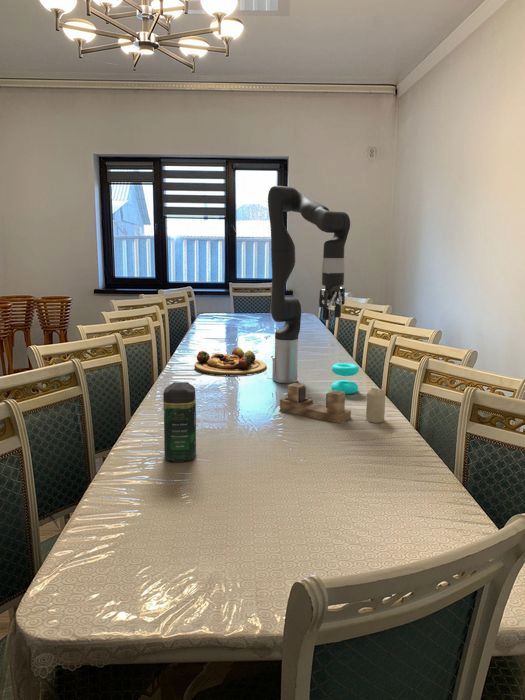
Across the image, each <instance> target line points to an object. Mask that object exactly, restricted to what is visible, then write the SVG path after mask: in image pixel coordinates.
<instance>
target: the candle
mask: <svg viewBox="0 0 525 700" xmlns="http://www.w3.org/2000/svg"><path fill="white" fill-rule="evenodd" d="M385 410H386V393H385V391H384V390H383V389H382V388H374V387H371V388H370V390H368V391H367V393H366V411H365V420H366V421H368V422H369V423H375V424H379V422H380V423H383V422H384V421H385V413H386V411H385Z"/></svg>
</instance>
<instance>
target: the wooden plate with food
mask: <svg viewBox="0 0 525 700" xmlns="http://www.w3.org/2000/svg"><path fill="white" fill-rule="evenodd" d="M196 360H197V361H196V362H195V363H194V366H193V367H194V369H195V370H196V371H197V370H198V371H197V372H199V371H201V372H204V373H203V374H205V373H208V374H207V375H209V374H214V375H213V376H216V375H226V376H225V377H231V376H230V375H244V376H248V375H247V374H252V375H255V374H254V373H257V374H260V373H262V371H263V372H264V370H265V369H266V370H267V367H268V366H267V364H266V362H264V361H263V360H259V359H256V355H255V353H254V352H253V351H251V350H247V351H245V352H244V350H243V349H242V348H240V347H239V346H236V347H235V348H234V349H233V350H232V352H231V354H229V353H226V354H223V353H219V352H217V353H213V354H212V355H210V354H209V353H208V352H207V351H205V350H200V351H199V352H198V353H197V355H196ZM266 370H265V371H266ZM201 372H200V373H201ZM259 372H260V373H259ZM227 375H228V376H227Z"/></svg>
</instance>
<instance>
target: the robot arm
mask: <svg viewBox="0 0 525 700" xmlns="http://www.w3.org/2000/svg"><path fill="white" fill-rule="evenodd" d="M267 207H268V215H269V217H268V218H269V223H270V224H269V226H270V238H271V239H270V240H271V241H270V243H271V244H270V247H271V248H270V251H271V252H270V255H271V256H270V257H271V261H270V262H271V298H270V314H271V317H272V319H273V321H275V322H276V323H284V325H283V326H282V327H281V328H279V329H277V330H276V331H275V333H274V356H273V357H272V372H271V373H272V374H271V375H272V379H271V380H272V381H275V382H276V383H280V384H293V383H297V382H298V377H299V376H298V372H299V371H298V370H299V369H298V368H299V364H298V363H299V362H298V361H299V334H300V331H301V320H302V305H301V302H300V300H299V299H298V298H297V297H285V294H286V293H285V291H286V285H287V281H289V279H290V276H291V274H292V273H293V270H294V268H295V265H296V246H295V243H294V241H293V238H292V237H291V234H290V233H289V232H288V229H287V228H286V226H285V223H284V214H283V212H284V213H285V212H286V213H288V212H294V213H299V214H300V215H301V216H302V218H303V219H304V220H305V221H307V222H309V223H311V224H312V225H315V226H316V227H317V228H318V229H319V230H320V231H321V232H324V233H327V234H328V233H329V234H330V233H331V234H333V236H332V239H329V240H327V241H325V242H324V243H323V255H322V256H323V259H322V267H321V285H322V286H324V289H319V298H318V299H319V300H318V307H319V308H321V309H322V321H323V320H324V321H329V320H330V307H331V305H332V304H334V305H333V306H334V311H333V312H334V313H333V317H334V318H339V319H340V318H341V315H342V307H343V306H344V305H345V301H346V300H345V299H346V297H345V296H346V295H345V294H346V293H345V292H346V289H345V287H343V286H344V285H345V245H346V242H347V239H348V235H349V233H350V232H349V231H350V228H351V219H350V216H349V214H348V213H346V212H345V211H334V210H332V211H331V210H330V209H329V208H328V207H327V206H325V205H324V204H321V203H318V202H316V201H314V200H312V199H310V198H308V197H306V196H305V195H303V194H302V193H301V192H300V191H299V190H298V189H296V188H295V187H291V186H284V185H273V186H271V187H270V188H269V190H268V194H267Z"/></svg>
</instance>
